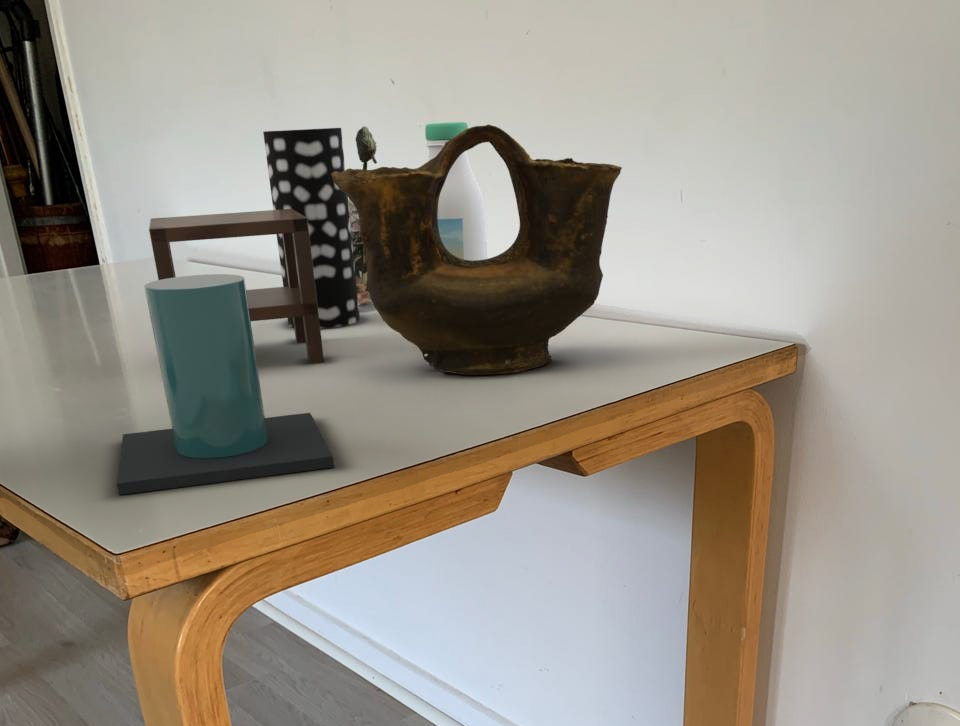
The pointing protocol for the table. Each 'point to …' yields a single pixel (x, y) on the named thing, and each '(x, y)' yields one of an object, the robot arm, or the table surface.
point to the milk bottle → (458, 199)
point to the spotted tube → (317, 214)
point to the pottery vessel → (490, 282)
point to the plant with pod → (366, 153)
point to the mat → (162, 467)
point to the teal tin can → (208, 364)
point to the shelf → (261, 302)
